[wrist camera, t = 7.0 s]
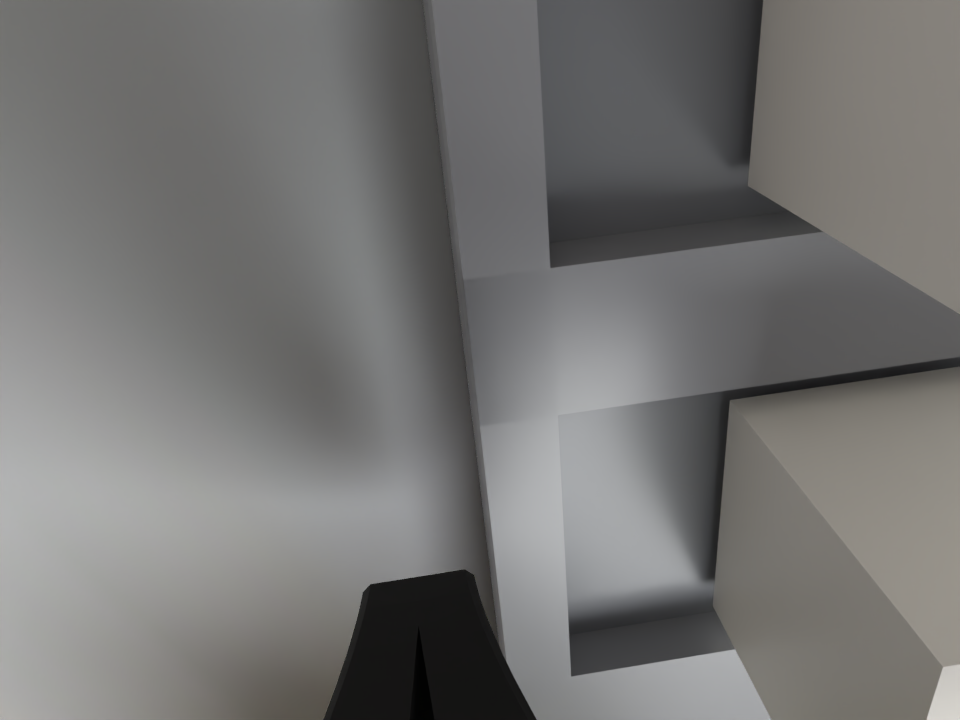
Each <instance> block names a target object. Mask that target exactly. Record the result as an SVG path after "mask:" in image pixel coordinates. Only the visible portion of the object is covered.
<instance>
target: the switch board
mask: <svg viewBox="0 0 960 720" xmlns="http://www.w3.org/2000/svg"><path fill="white" fill-rule="evenodd" d="M422 1H423V10H424V18H425V27H426V35H427V43H428V52H429V60H430V69H431V77H432V85H433V94H434V102H435V111H436V119H437V128H438V136H439V144H440V153H441V161H442V170H443V178H444V186H445V195H446V203H447V212H448V220H449V229H450V237H451V245H452V254H453V262H454V271H455V279H456V287H457V296H458V304H459V313H460V321H461V330H462V338H463V346H464V355H465V363H466V372H467V380H468V388H469V397H470V405H471V414H472V422H473V431H474V439H475V447H476V456H477V464H478V473H479V481H480V490H481V498H482V506H483V515H484V523H485V532H486V540H487V548H488V557H489V565H490V574H491V582H492V591H493V599H494V607H495V616H496V624H497V633H498V641H499V647H500V649H501V651H502V654H503V656H504V658H505V660H506V662H507V664H508V666H509V668H510V670H511V672H512V674H513V676H514V678H515V680H516V682H517V684H518V686H519V688H520V689H521V691H522V693H523V695H524V697H525V699H526V701H527V702H528V704H529V706H530V708H531V710H532V712H533V714H534V716H535V717H536V719H537V720H771V718H770V716H769V714H768V712H767V710H766V708H765V706H764V704H763V702H762V700H761V698H760V697H759V695H758V693H757V691H756V689H755V687H754V685H753V683H752V681H751V679H750V677H749V675H748V673H747V671H746V669H745V667H744V665H743V664H742V662H741V660H740V658H739V656H738V654H737V652H736V650H735V648H734V646H733V644H732V642H731V640H730V638H729V636H728V634H727V633H726V631H725V629H724V627H723V625H722V623H721V621H720V619H719V617H718V615H717V613H716V611H715V609H714V607H713V596H714V584H715V572H716V560H717V548H718V536H719V524H720V512H721V500H722V488H723V476H724V464H725V452H726V440H727V428H728V416H729V404H730V400H734V399H741V398H747V397H754V396H761V395H768V394H775V393H782V392H789V391H795V390H802V389H809V388H816V387H823V386H830V385H836V384H843V383H850V382H857V381H864V380H871V379H878V378H884V377H891V376H898V375H905V374H912V373H919V372H926V371H932V370H939V369H946V368H953V367H960V314H959V313H957V312H955V311H954V310H952V309H950V308H949V307H947V306H945V305H944V304H942V303H940V302H939V301H937V300H935V299H934V298H932V297H931V296H929V295H927V294H926V293H924V292H922V291H921V290H919V289H917V288H916V287H914V286H912V285H911V284H909V283H907V282H906V281H904V280H902V279H901V278H899V277H897V276H896V275H894V274H893V273H891V272H889V271H888V270H886V269H884V268H883V267H881V266H879V265H878V264H876V263H874V262H873V261H871V260H869V259H868V258H866V257H864V256H863V255H861V254H860V253H858V252H856V251H855V250H853V249H851V248H850V247H848V246H846V245H845V244H843V243H841V242H840V241H838V240H836V239H835V238H833V237H831V236H830V235H828V234H826V233H825V232H823V231H822V230H820V229H818V228H817V227H815V226H813V225H812V224H810V223H808V222H807V221H805V220H803V219H802V218H800V217H798V216H797V215H795V214H793V213H792V212H790V211H789V210H787V209H785V208H784V207H782V206H780V205H779V204H777V203H775V202H774V201H772V200H770V199H769V198H767V197H765V196H764V195H762V194H760V193H759V192H757V191H755V190H754V189H752V188H751V187H749V186H748V177H749V165H750V153H751V141H752V129H753V117H754V105H755V93H756V81H757V69H758V57H759V45H760V33H761V21H762V9H763V0H422Z"/></svg>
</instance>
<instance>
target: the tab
mask: <svg viewBox="0 0 960 720" xmlns="http://www.w3.org/2000/svg"><path fill="white" fill-rule="evenodd" d="M713 607H714V609H715V611H716V613H717V615H718V617H719V619H720V621H721V623H722V625H723V627H724V629H725V631H726V633H727V634H728V636H729V638H730V640H731V642H732V644H733V646H734V648H735V650H736V652H737V654H738V656H739V658H740V660H741V662H742V664H743V665H744V667H745V669H746V671H747V673H748V675H749V677H750V679H751V681H752V683H753V685H754V687H755V689H756V691H757V693H758V695H759V697H760V698H761V700H762V702H763V704H764V706H765V708H766V710H767V712H768V714H769V716H770V718H771V720H960V367H953V368H946V369H939V370H932V371H926V372H919V373H912V374H905V375H898V376H891V377H884V378H878V379H871V380H864V381H857V382H850V383H843V384H836V385H830V386H823V387H816V388H809V389H802V390H795V391H789V392H782V393H775V394H768V395H761V396H754V397H747V398H741V399H734V400H730V404H729V416H728V428H727V440H726V452H725V464H724V476H723V488H722V500H721V512H720V524H719V536H718V548H717V560H716V572H715V584H714V596H713Z"/></svg>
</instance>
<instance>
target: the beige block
mask: <svg viewBox="0 0 960 720" xmlns="http://www.w3.org/2000/svg"><path fill="white" fill-rule="evenodd" d="M748 186H749V187H751V188H752V189H754V190H755V191H757V192H759V193H760V194H762V195H764V196H765V197H767V198H769V199H770V200H772V201H774V202H775V203H777V204H779V205H780V206H782V207H784V208H785V209H787V210H789V211H790V212H792V213H793V214H795V215H797V216H798V217H800V218H802V219H803V220H805V221H807V222H808V223H810V224H812V225H813V226H815V227H817V228H818V229H820V230H822V231H823V232H825V233H826V234H828V235H830V236H831V237H833V238H835V239H836V240H838V241H840V242H841V243H843V244H845V245H846V246H848V247H850V248H851V249H853V250H855V251H856V252H858V253H860V254H861V255H863V256H864V257H866V258H868V259H869V260H871V261H873V262H874V263H876V264H878V265H879V266H881V267H883V268H884V269H886V270H888V271H889V272H891V273H893V274H894V275H896V276H897V277H899V278H901V279H902V280H904V281H906V282H907V283H909V284H911V285H912V286H914V287H916V288H917V289H919V290H921V291H922V292H924V293H926V294H927V295H929V296H931V297H932V298H934V299H935V300H937V301H939V302H940V303H942V304H944V305H945V306H947V307H949V308H950V309H952V310H954V311H955V312H957V313H959V314H960V0H763V9H762V21H761V33H760V45H759V57H758V69H757V81H756V93H755V105H754V117H753V129H752V141H751V153H750V165H749V177H748Z"/></svg>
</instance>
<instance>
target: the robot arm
mask: <svg viewBox="0 0 960 720" xmlns="http://www.w3.org/2000/svg"><path fill="white" fill-rule="evenodd" d="M324 720H537V719H536V717H535V716H534V714H533V712H532V710H531V708H530V706H529V704H528V702H527V701H526V699H525V697H524V695H523V693H522V691H521V689H520V688H519V686H518V684H517V682H516V680H515V678H514V676H513V674H512V672H511V670H510V668H509V666H508V664H507V662H506V660H505V658H504V656H503V654H502V651H501V649H500V647H499V645H498V642H497V640H496V638H495V636H494V634H493V631H492V629H491V626H490V624H489V621H488V619H487V616H486V614H485V611H484V608H483V606H482V603H481V599H480V596H479V593H478V590H477V586H476V582H475V577H474V575H473V574H471V573H470V572H468V571H466V570H459V571H453V572H446V573H440V574H434V575H427V576H421V577H415V578H408V579H402V580H396V581H389V582H383V583H377V584H370V586H369V587H368V588H367V589H366V590H365V591H364V592H363V595H362V600H361V605H360V609H359V613H358V617H357V621H356V625H355V629H354V632H353V636H352V639H351V642H350V646H349V649H348V652H347V655H346V658H345V661H344V664H343V667H342V670H341V673H340V676H339V679H338V682H337V685H336V688H335V691H334V693H333V696H332V699H331V701H330V704H329V707H328V709H327V712H326V715H325V717H324Z"/></svg>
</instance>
